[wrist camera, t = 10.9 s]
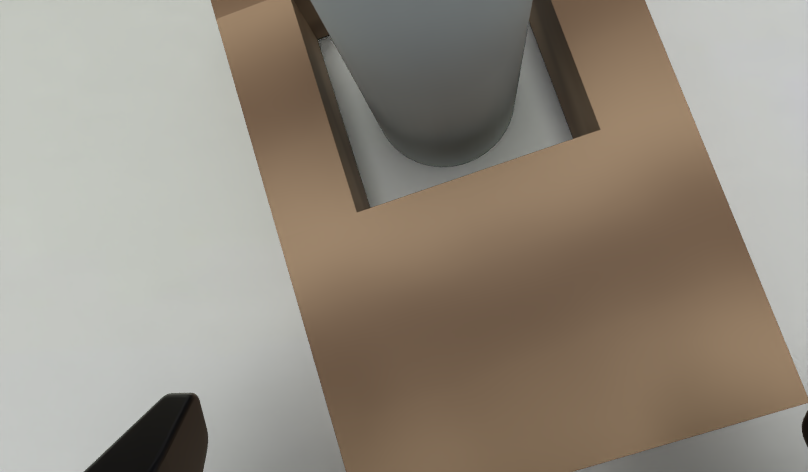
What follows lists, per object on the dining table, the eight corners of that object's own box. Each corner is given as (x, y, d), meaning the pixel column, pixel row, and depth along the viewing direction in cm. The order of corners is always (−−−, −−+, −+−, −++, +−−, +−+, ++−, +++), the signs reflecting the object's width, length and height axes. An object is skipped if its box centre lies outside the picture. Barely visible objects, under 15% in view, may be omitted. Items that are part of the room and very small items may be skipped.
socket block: (751, 385, 17) (810, 402, 14) (383, 494, 18) (363, 532, 15) (557, -102, 19) (571, -177, 16) (242, 16, 20) (200, -34, 17)
